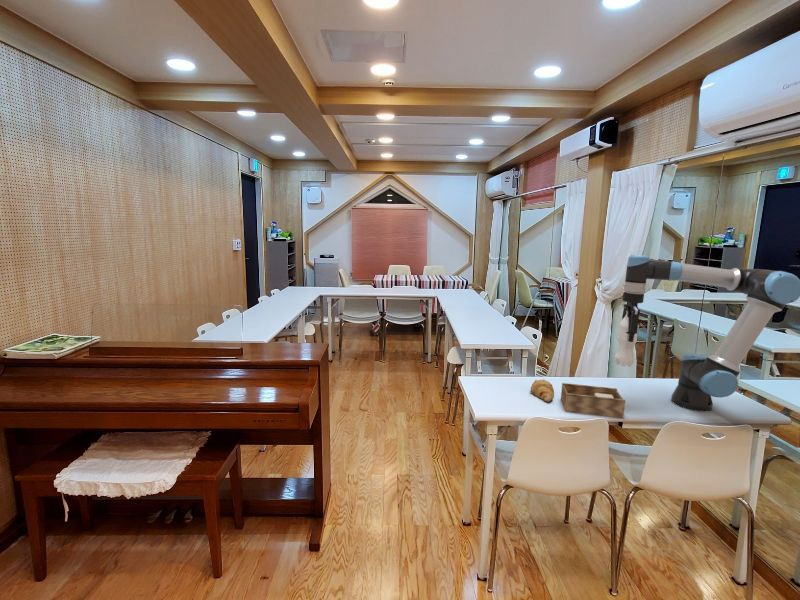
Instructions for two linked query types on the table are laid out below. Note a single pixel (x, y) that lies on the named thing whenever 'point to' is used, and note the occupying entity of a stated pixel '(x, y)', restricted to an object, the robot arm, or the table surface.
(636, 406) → the table surface
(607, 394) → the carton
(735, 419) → the table surface
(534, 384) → the croissant
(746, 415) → the table surface
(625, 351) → the water bottle
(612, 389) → the crate
